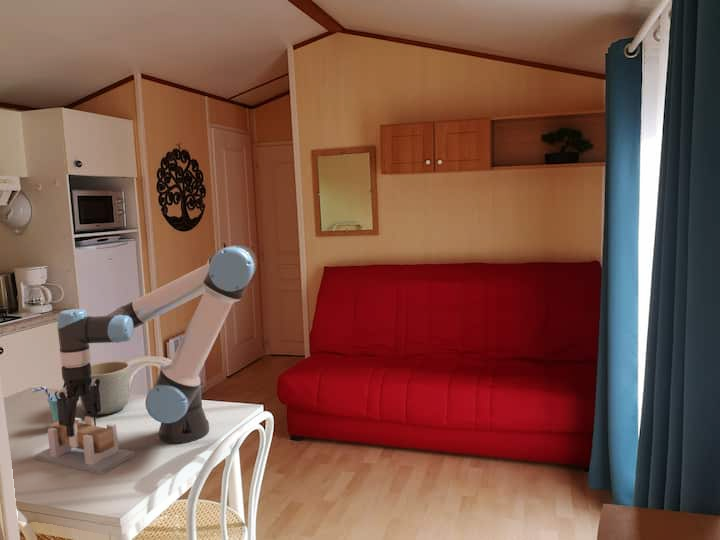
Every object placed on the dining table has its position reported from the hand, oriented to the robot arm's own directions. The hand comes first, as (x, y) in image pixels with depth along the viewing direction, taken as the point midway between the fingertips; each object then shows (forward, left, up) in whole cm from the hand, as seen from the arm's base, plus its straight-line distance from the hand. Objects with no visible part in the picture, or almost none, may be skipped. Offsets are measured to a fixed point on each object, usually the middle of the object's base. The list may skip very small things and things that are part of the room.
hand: (82, 442), depth 168 cm
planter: (+25, -31, -5) cm, 40 cm away
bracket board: (0, 0, -5) cm, 5 cm away
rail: (0, 0, -1) cm, 1 cm away
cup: (+26, -13, -5) cm, 29 cm away
